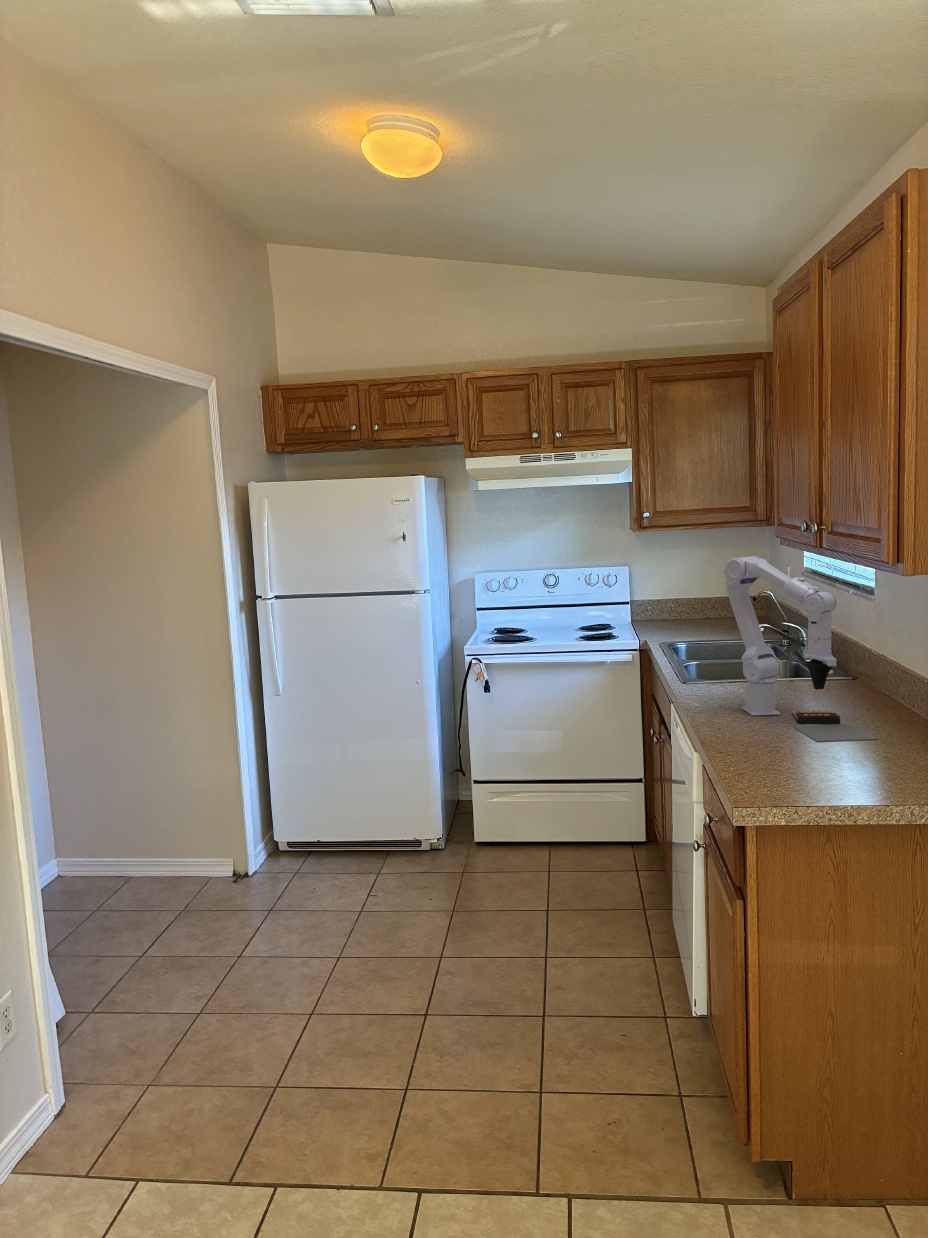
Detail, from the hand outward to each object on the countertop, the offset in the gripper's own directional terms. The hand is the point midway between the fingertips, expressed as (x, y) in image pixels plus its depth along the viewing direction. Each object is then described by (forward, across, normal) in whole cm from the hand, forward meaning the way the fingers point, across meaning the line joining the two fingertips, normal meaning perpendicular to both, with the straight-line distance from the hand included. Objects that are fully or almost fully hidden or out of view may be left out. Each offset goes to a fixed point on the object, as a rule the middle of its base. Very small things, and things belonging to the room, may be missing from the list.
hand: (818, 688), depth 244 cm
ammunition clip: (+8, 0, 0) cm, 8 cm away
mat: (+10, +10, -1) cm, 14 cm away
